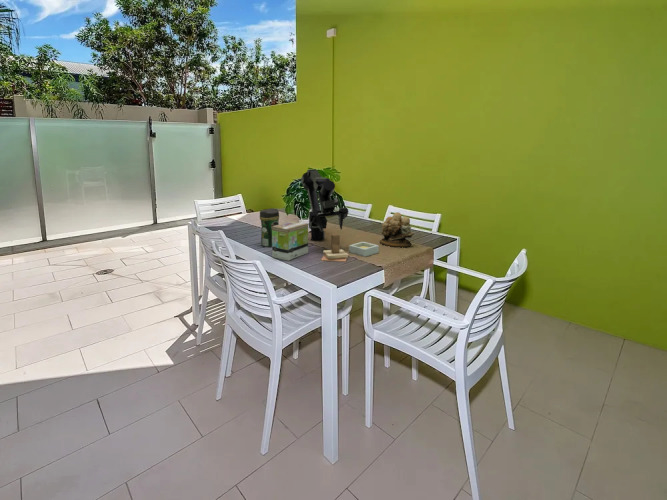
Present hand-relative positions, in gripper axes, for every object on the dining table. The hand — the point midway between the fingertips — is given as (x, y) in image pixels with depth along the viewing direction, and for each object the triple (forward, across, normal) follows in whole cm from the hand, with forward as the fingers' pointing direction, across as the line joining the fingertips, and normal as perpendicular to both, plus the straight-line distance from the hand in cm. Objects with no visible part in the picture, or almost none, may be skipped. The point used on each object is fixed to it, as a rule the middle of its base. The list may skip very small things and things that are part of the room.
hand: (331, 230), depth 176 cm
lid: (+12, -1, 0) cm, 13 cm away
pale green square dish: (+11, +14, +5) cm, 19 cm away
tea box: (+7, -20, +6) cm, 23 cm away
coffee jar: (-6, -28, +21) cm, 36 cm away
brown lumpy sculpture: (+6, +35, +14) cm, 38 cm away
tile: (+14, -1, 0) cm, 14 cm away
